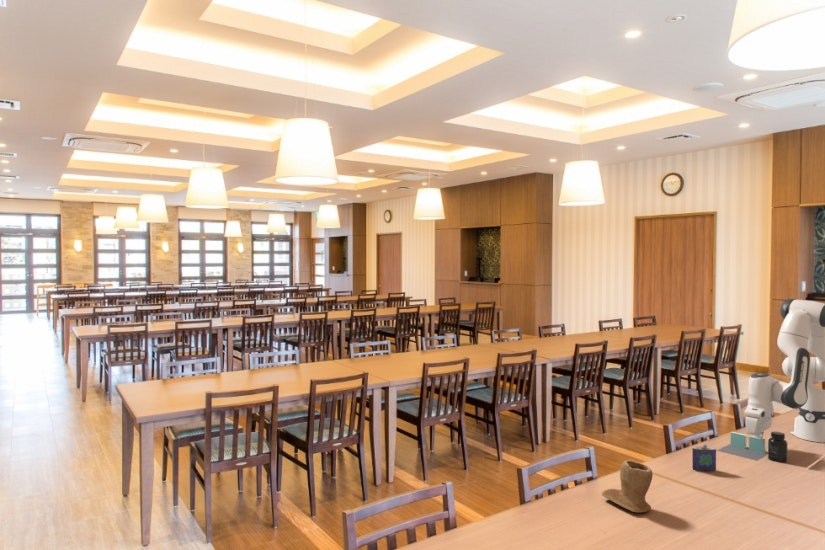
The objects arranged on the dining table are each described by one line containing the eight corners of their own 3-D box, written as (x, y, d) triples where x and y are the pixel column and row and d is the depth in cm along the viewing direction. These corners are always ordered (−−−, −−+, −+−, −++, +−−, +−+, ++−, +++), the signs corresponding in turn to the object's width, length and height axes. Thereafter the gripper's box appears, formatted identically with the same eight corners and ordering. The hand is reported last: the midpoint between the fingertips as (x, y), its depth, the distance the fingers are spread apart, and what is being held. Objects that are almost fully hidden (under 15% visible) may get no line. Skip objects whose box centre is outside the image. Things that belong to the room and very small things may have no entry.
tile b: (731, 444, 251) (732, 431, 251) (746, 448, 246) (746, 434, 246) (730, 445, 250) (730, 432, 250) (745, 448, 245) (745, 435, 245)
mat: (731, 444, 253) (731, 443, 253) (770, 453, 240) (770, 452, 240) (716, 451, 243) (716, 450, 243) (757, 462, 230) (757, 460, 230)
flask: (714, 469, 222) (714, 443, 222) (718, 471, 219) (718, 445, 219) (691, 468, 223) (691, 442, 222) (694, 471, 220) (694, 445, 220)
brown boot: (660, 511, 184) (660, 467, 184) (633, 517, 179) (634, 472, 179) (626, 494, 198) (626, 452, 198) (600, 499, 193) (601, 457, 193)
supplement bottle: (791, 464, 228) (791, 435, 228) (774, 463, 228) (774, 435, 228) (780, 458, 235) (780, 430, 235) (764, 458, 235) (764, 430, 235)
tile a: (750, 449, 245) (750, 435, 245) (765, 452, 240) (765, 439, 240) (748, 449, 244) (748, 436, 244) (763, 453, 239) (764, 439, 239)
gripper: (760, 404, 252) (759, 434, 252) (742, 412, 239) (742, 443, 240) (775, 407, 247) (775, 438, 248) (758, 415, 234) (758, 447, 235)
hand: (759, 440), depth 243 cm, fingers closed
